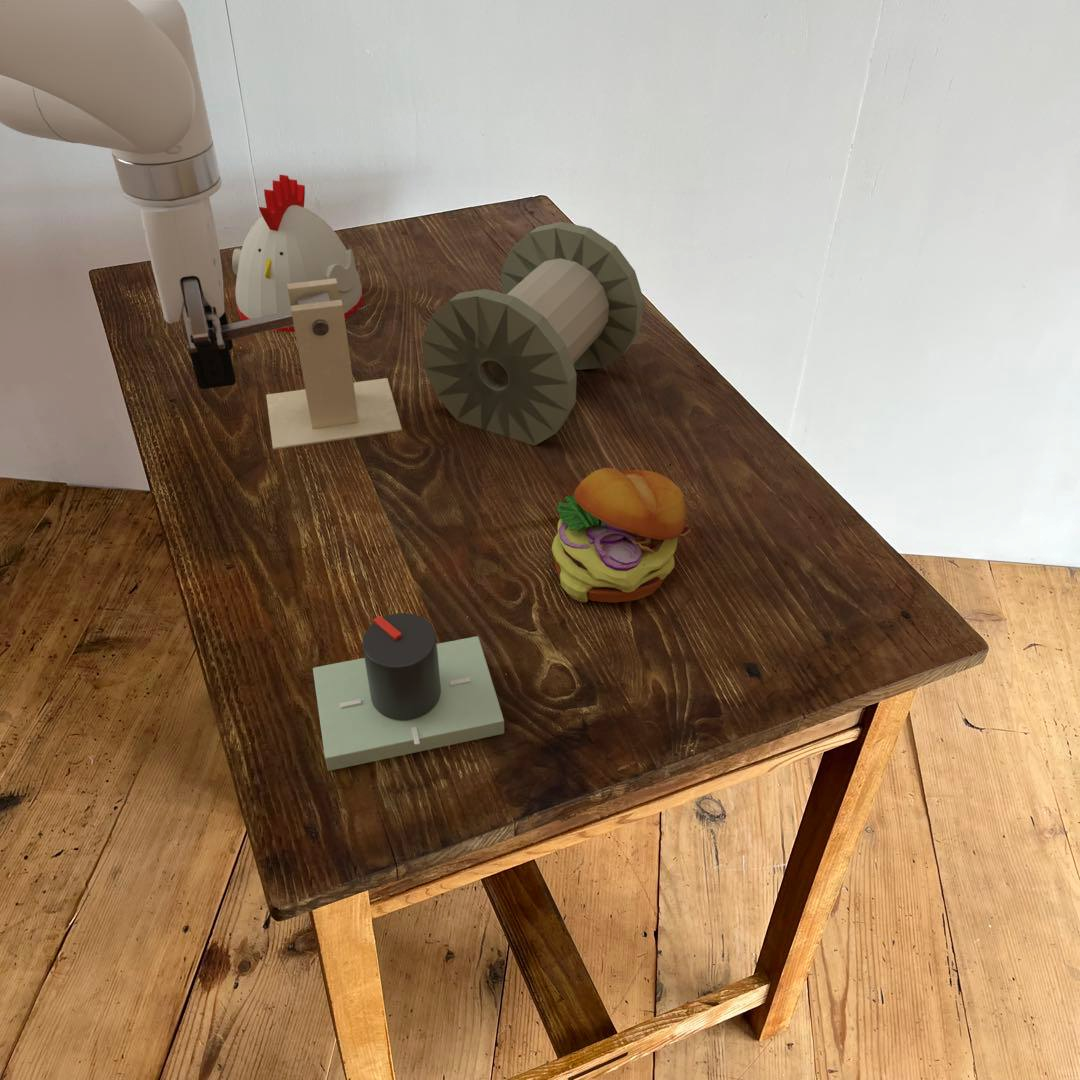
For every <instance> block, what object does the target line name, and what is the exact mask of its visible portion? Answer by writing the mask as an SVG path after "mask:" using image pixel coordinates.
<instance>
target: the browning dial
mask: <svg viewBox="0 0 1080 1080" xmlns="http://www.w3.org/2000/svg"><path fill="white" fill-rule="evenodd" d="M361 643H362V645H361V646H362V651H363V658H365V664H366V670H367V676H368V682H369V689H370V695H371V700H372V703H373V705H374V707H375V708H376V709H377V711H378V712H380V713H381V714H382V715H384V716H386V717H388V718H391V719H395V720H411V719H415V718H418V717H421V716H423V715H425V714H426V713H428V712H429V711H430V710H432V709H433V708H434V706H435V705H436V704H437V702H438V700H439V698H440V694H441V685H440V673H439V662H438V651H437V644H438V639H437V633H436V631H435V628H434V627H433V625H432V623H430V621H428V620H427V619H425V618H424V617H422V616H419V615H418V614H413V613H407V612H397V613H392V614H387V615H385V616H382V615H378V616H376V617H375V618H373V622H372V624H370V625H369V626H368V628H367V629H366V631H365V632H364V634H363V637H362V642H361Z"/></svg>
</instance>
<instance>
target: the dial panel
mask: <svg viewBox="0 0 1080 1080" xmlns="http://www.w3.org/2000/svg"><path fill="white" fill-rule="evenodd" d="M437 651H438V662H439V673H440V685H441V694H440V698H439V700H438V702H437V704H436V705H435V706H434V708H433V709H432V710H430V711H429V712H428V713H426V714H425V715H423V716H421V717H418V718H415V719H411V720H395V719H391V718H388V717H386V716H384V715H382V714H381V713H380V712H378V711H377V709H376V708H375V707H374V705H373V703H372V700H371V695H370V689H369V682H368V676H367V670H366V664H365V658H364V657H362V658H357V659H352V660H345V661H341V662H335V663H331V664H330V663H329V664H326V665H320V666H315V667H313V668H312V673H313V681H314V688H315V695H316V702H317V710H318V717H319V726H320V731H321V740H322V747H323V755H324V761H325V765H326V770H327V771H329V772H331V771H335V770H338V769H344V768H348V767H349V768H350V767H353V766H357V765H358V766H359V765H364V764H367V763H373V762H377V761H382V760H386V759H391V758H396V757H401V756H406V755H409V754H415V753H419V752H424V751H428V750H429V751H430V750H434V749H439V748H442V747H448V746H452V745H457V744H462V743H466V742H471V741H472V742H473V741H476V740H480V739H485V738H489V737H495V736H499V735H503V734H505V719H504V716H503V711H502V709H501V706H500V702H499V700H498V696H497V692H496V689H495V686H494V683H493V679H492V676H491V672H490V669H489V666H488V663H487V659H486V657H485V656H486V655H485V653H484V649H483V646H482V642H481V639H480V637H479V636H478V635H476V636H471V637H466V638H461V639H456V640H449V641H445V642H440V643H437Z"/></svg>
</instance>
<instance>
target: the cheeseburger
mask: <svg viewBox="0 0 1080 1080" xmlns="http://www.w3.org/2000/svg"><path fill="white" fill-rule="evenodd" d="M564 500H565V501H566V502H562V501H558V503H557V504H558V505H557V508H556V511H557V513H559V516H558V518H559V520H558V522H557V533H556V534H555V536H554V537H553V542H552V545H551V550H552V554H553V563H554V566H555V569H556V573H557V576H558V579H559V582H560V587H561V588H562V589H563V590H564V591H565V592H566V594H567V595H568V596H570V597H571V599H573V600H575V601H576V602H579V603H587V602H588V600H590V601H592V602H600V603H601V602H602V603H622V602H623V603H624V602H630V601H631V602H632V601H638V600H640V599H643V598H645V597H648V596H651V595H653V594H654V593H655V592H656V590H657V589H658V588H659V587H660V586H661V585H662V584H663V582H664V580H665V579H666V578H667V576H668V575H669V574H671V572H672V571H673V569H674V568H675V557H674V555H675V552H676V550H677V547H678V538H679V537H681V536H686V535H687V534H689V533H690V532H691V528H690V527H691V526H690V525H688V524H685V523H686V516H687V509H686V504H685V499H684V495H683V491H682V490H681V489H680V488H679V487H678V486H677V484H675V483H674V482H673V481H672V480H671V479H670V478H668V477H667V476H664V475H663V474H661V473H658V472H655V471H651V470H640V469H628V470H627V469H625V470H618V469H616V468H611V467H602V468H600V469H596V470H593V472H591V473H590V474H588V475H587V476H586V477H585V478H583V479H582V481H581V482H580V483H579V484H578V486H577V487H576V488H575V490H574V493H573V495H566V496H565V497H564Z"/></svg>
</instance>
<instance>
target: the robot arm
mask: <svg viewBox="0 0 1080 1080" xmlns="http://www.w3.org/2000/svg"><path fill="white" fill-rule="evenodd" d="M184 9H185V8H184V7H183V6H182V4H181V3H180V2H179V0H0V124H2V125H4V126H5V127H6V128H10V129H12V130H14V131H16V132H19V133H21V134H24V135H26V136H27V135H28V136H32V137H35V138H41V139H47V140H52V141H53V140H54V141H59V142H65V143H71V144H82V145H86V146H87V145H88V146H93V147H99V148H104V149H109V150H110V151H111V155H112V159H113V163H114V167H115V169H116V173H117V176H118V181H119V184H120V187H121V191H122V194H123V197H124V199H126V200H127V201H129V202H130V203H132V204H135V205H138V207H139V212H140V217H141V223H142V229H143V233H144V238H145V239H144V240H145V242H146V243H145V244H146V247H147V252H148V255H149V259H150V260H149V261H150V263H151V268H152V273H153V276H154V281H155V285H156V289H157V294H158V297H159V302H160V306H161V311H162V315H163V319H164V322H166V323H167V324H169V325H174V324H175V323H180V321H181V317H182V319H183V323H184V327H185V331H186V336H187V340H188V345H189V347H188V352H189V355H190V359H191V363H192V367H193V371H194V375H195V378H196V382H197V386H198V388H199V389H201V390H206V389H214V388H215V389H216V388H221V387H230V386H234V385H236V383H237V379H236V374H235V370H234V365H233V360H232V356H231V352H230V351H232V350H233V348H234V343H233V339H231V340H226V341H224V340H223V335H222V330H221V326H222V325H226V324H229V321H228V317H227V312H226V308H225V295H224V292H225V291H224V276H223V265H222V257H221V249H220V244H219V237H218V233H217V228H216V223H215V218H214V214H213V209H212V204H211V199H210V197H211V196H213V195H214V194H216V193H217V192H218V190H219V189H220V188H221V187H222V178H221V173H220V168H219V164H218V159H217V153H216V149H215V144H214V140H213V136H212V130H211V127H210V120H209V117H208V112H207V106H206V102H205V97H204V92H203V87H202V83H201V79H200V78H201V77H200V73H199V68H198V63H197V59H196V54H195V50H194V44H193V39H192V35H191V30H190V26H189V22H188V18H187V14H186V12H185V10H184ZM207 321H212V323H213V327H214V331H213V330H212V329H209V328H208V325H207ZM214 332H215V333H214Z"/></svg>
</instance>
